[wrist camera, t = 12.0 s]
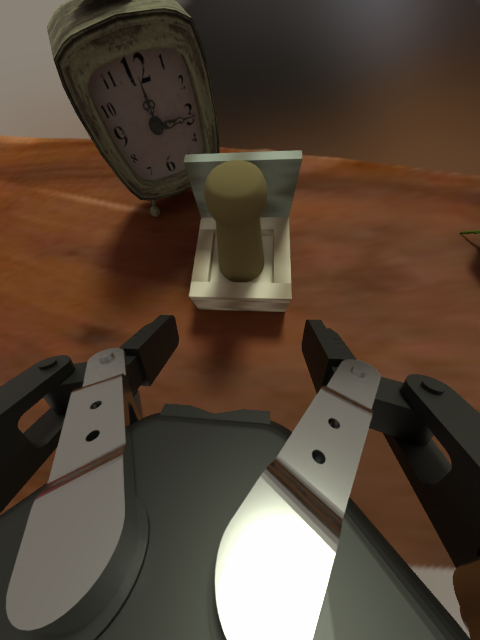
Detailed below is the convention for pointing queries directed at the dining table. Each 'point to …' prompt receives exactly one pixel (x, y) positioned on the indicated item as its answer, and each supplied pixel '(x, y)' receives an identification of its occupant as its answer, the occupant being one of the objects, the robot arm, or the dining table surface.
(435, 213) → the dining table surface
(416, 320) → the dining table surface
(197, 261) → the stand
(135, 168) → the tabletop clock
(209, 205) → the cork
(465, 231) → the pomegranate
